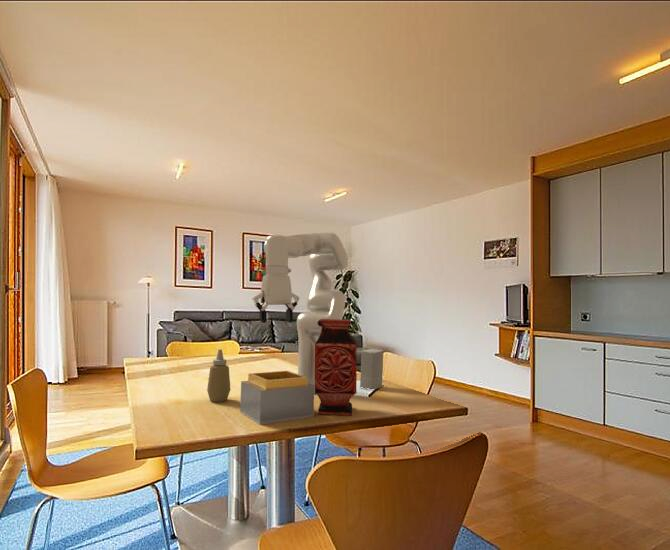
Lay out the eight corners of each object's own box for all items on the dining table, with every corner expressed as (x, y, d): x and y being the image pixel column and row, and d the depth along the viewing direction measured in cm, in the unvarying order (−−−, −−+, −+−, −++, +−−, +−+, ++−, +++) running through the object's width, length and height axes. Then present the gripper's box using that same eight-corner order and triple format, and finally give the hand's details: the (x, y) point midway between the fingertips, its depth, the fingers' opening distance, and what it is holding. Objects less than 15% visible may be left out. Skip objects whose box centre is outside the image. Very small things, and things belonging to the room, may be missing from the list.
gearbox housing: (290, 405, 154) (291, 369, 155) (313, 416, 141) (314, 377, 142) (240, 412, 145) (241, 373, 145) (259, 424, 131) (261, 381, 132)
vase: (316, 405, 156) (318, 318, 157) (355, 406, 156) (357, 319, 157) (312, 416, 142) (315, 320, 144) (356, 417, 142) (358, 321, 143)
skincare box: (369, 385, 194) (370, 348, 195) (384, 387, 190) (384, 349, 190) (358, 388, 187) (359, 350, 188) (373, 390, 183) (374, 351, 184)
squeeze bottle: (224, 403, 156) (225, 351, 157) (202, 402, 157) (204, 350, 158) (233, 398, 164) (235, 348, 164) (213, 397, 165) (214, 347, 166)
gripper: (293, 272, 162) (293, 320, 162) (248, 271, 152) (248, 322, 152) (304, 272, 156) (303, 321, 155) (258, 271, 146) (257, 323, 146)
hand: (276, 321), depth 154 cm, fingers open, 9 cm apart
